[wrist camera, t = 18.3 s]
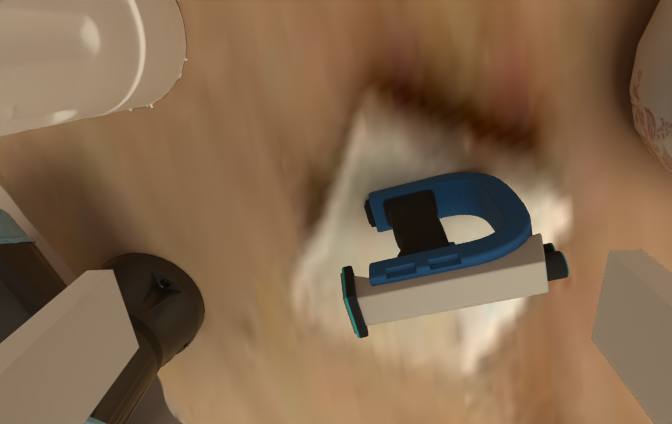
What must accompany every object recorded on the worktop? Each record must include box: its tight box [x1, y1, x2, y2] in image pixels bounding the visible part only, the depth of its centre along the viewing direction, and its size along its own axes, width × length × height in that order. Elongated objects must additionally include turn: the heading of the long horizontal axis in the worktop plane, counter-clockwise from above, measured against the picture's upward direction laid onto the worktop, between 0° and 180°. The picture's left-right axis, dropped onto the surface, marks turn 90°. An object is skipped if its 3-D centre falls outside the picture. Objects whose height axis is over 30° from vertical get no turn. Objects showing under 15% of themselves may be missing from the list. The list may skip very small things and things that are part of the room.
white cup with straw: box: [0, 0, 188, 137], centre depth 26 cm, size 15×15×33 cm
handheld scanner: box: [341, 173, 569, 338], centre depth 38 cm, size 5×16×20 cm, turn 107°
